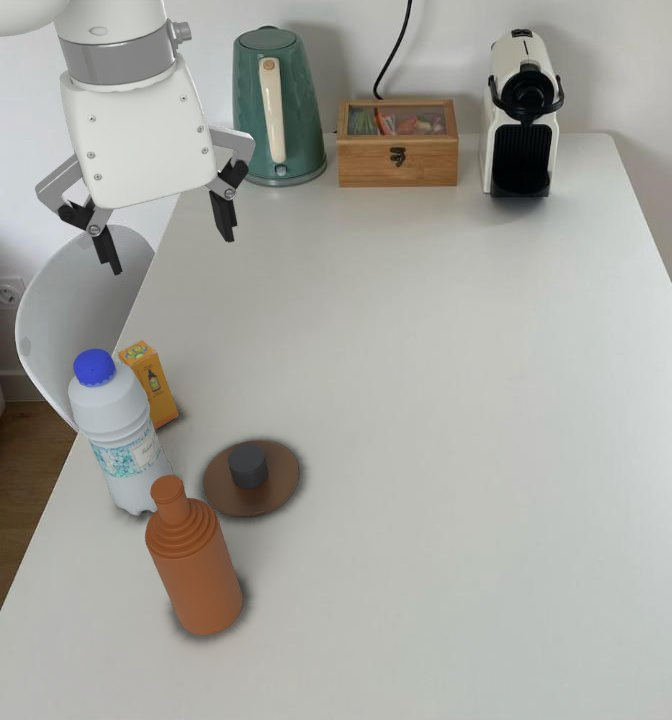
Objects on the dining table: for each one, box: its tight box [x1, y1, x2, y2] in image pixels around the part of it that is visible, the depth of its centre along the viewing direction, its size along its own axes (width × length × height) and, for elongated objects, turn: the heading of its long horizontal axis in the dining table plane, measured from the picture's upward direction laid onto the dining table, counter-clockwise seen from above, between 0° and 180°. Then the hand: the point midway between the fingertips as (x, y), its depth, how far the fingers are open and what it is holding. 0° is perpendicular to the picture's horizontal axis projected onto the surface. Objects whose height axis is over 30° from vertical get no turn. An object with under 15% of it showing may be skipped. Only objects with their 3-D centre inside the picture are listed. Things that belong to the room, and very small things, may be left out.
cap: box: [228, 444, 268, 489], centre depth 84 cm, size 4×4×3 cm
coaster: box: [202, 439, 300, 519], centre depth 86 cm, size 10×10×1 cm
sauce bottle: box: [144, 474, 244, 636], centre depth 69 cm, size 6×6×18 cm
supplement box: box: [117, 339, 180, 431], centre depth 90 cm, size 3×3×10 cm
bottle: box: [67, 348, 174, 517], centre depth 78 cm, size 7×7×20 cm
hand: (171, 250), depth 69 cm, fingers open, 9 cm apart
